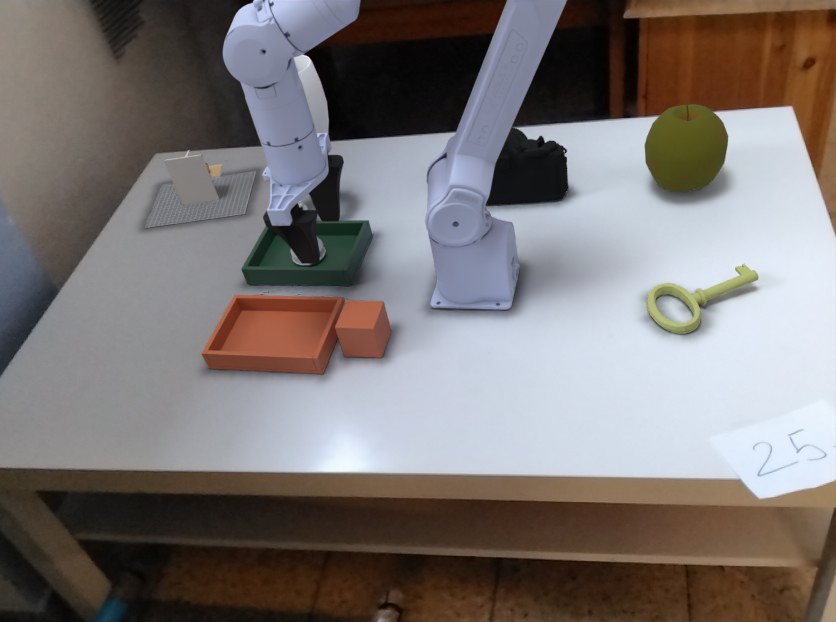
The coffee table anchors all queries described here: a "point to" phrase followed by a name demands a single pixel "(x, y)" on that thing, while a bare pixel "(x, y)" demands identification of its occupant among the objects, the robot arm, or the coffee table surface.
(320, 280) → the green tray
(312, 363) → the terracotta tray
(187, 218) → the architectural model
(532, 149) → the film camera
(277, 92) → the robot arm
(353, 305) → the terracotta block
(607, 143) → the coffee table surface
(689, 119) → the apple
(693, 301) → the key
